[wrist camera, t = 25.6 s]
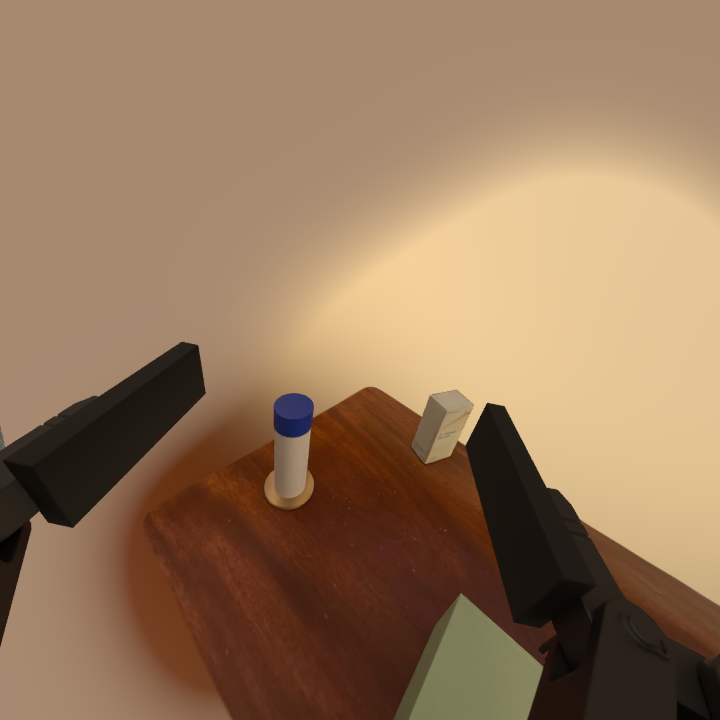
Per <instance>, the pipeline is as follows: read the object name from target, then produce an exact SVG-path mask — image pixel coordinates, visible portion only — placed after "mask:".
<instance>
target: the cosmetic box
mask: <svg viewBox="0 0 720 720" xmlns="http://www.w3.org/2000/svg"><path fill="white" fill-rule="evenodd" d="M473 406H474V405H473V404H472V403H471V402H470V401H469V400H468V399H467V398H466V397H465V396H463V395H462V394H461V393H460V392H459V391H457V390H453V391H447V392H442V393H437V394H432V395H430V397H429V400H428V402H427V405H426V408H425V410H424V413H423V416H422V418H421V421H420V424H419V427H418V429H417V432H416V435H415V438H414V440H413V443H412V446H411V447H412V448H413V450H414V451H415V452H416V454H417V455H418V456H419V458H420V459H421V460H422V461H423V463H424V464H427V463H431V462H434V461H437V460H440V459H443V458H446V457H449V456H450V455H451V453H452V451H453V449H454V447H455V445H456V443H457V441H458V438H459V436H460V434H461V432H462V430H463V428H464V425H465V423H466V421H467V419H468V417H469V415H470V413H471V411H472V409H473Z"/></svg>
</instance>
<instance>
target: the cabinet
mask: <svg viewBox="0 0 720 720" xmlns="http://www.w3.org/2000/svg"><path fill="white" fill-rule="evenodd" d="M542 671H543V666H542V665H541V664H540V663H538V662H537V661H536V660H535V659H534V658H533V657H532V656H531V655H530V654H528V653H527V652H526V651H525V650H524V649H523V648H522V647H521V646H519V645H518V644H517V643H516V642H515V641H514V640H513V639H512V638H511V637H509V636H508V635H507V634H506V633H505V632H504V631H503V630H502V629H500V628H499V627H498V626H497V625H496V624H495V623H494V622H493V621H492V620H490V619H489V618H488V617H487V616H486V615H485V614H484V613H483V612H481V611H480V610H479V609H478V608H477V607H476V606H475V605H474V604H473V603H471V602H470V601H469V600H468V599H467V598H466V597H465V596H464V595H462V594H460V595H459V596H458V597H457V599H456V600H455V601H454V602H453V604H452V605H451V606H450V607H449V609H448V610H447V611H446V612H445V614H444V615H443V616H442V617H441V619H440V620H439V621H438V622H437V623H436V625H435V627H434V629H433V631H432V633H431V636H430V638H429V640H428V642H427V645H426V647H425V649H424V651H423V654H422V656H421V658H420V660H419V662H418V665H417V667H416V669H415V671H414V674H413V676H412V678H411V680H410V683H409V685H408V687H407V689H406V692H405V694H404V696H403V698H402V701H401V703H400V705H399V707H398V710H397V712H396V714H395V716H394V718H393V720H527V719H528V716H529V712H530V709H531V706H532V703H533V699H534V696H535V693H536V690H537V687H538V683H539V680H540V677H541V674H542Z"/></svg>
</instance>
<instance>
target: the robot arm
mask: <svg viewBox="0 0 720 720" xmlns="http://www.w3.org/2000/svg"><path fill="white" fill-rule="evenodd" d="M205 393H206V392H205V386H204V379H203V373H202V366H201V360H200V354H199V347H198V345H195V344H190V343H185V342H181V343H179V344H178V345H176V346H175V347H173V348H172V349H170V350H169V351H167V352H166V353H164V354H163V355H161V356H160V357H158V358H156V359H155V360H154V361H152V362H150V363H149V364H147V365H146V366H144V367H143V368H141V369H140V370H138V371H137V372H135V373H134V374H132V375H131V376H130V377H128V378H126V379H125V380H123V381H122V382H120V383H119V384H118V385H116V386H114V387H113V388H111V389H110V390H108V391H107V392H105V393H104V394H102V395H101V396H99V397H98V396H92V397H90V398H87V399H85V400H83V401H80V402H77V403H75V404H73V405H72V406H70V407H68V408H67V409H65V410H64V411H62V412H61V413H59V414H58V416H57V417H53V418H51V419H50V420H48V421H46V422H45V423H44V425H42V426H41V425H40V426H38V427H37V428H35V429H34V430H32V431H31V432H29V433H27V434H26V435H24V436H23V437H21V438H19V439H18V440H16V441H15V442H13V443H12V444H10V445H8V446H7V447H5V446H4V440H3V436H2V432H1V428H0V645H1V642H2V638H3V634H4V631H5V627H6V623H7V619H8V616H9V611H10V608H11V604H12V600H13V596H14V593H15V589H16V585H17V582H18V578H19V574H20V570H21V566H22V563H23V559H24V555H25V551H26V548H27V544H28V540H29V536H30V532H31V522H30V521H29V520H30V519H31V518H32V517H33V516H34V515H35V514H37V513H38V512H39V511H40V512H41V514H42V515H43V516H44V518H45V519H46V520H47V522H48V523H53V524H57V525H62V526H67V527H71V528H73V527H74V526H75V525H76V524H77V523H78V522H79V521H80V520H81V519H82V518H83V517H84V516H85V515H86V514H87V513H88V512H89V511H90V510H91V509H92V508H93V507H94V506H95V505H96V504H97V503H98V502H99V501H100V500H101V499H102V498H103V497H104V496H105V495H106V494H107V493H108V492H109V491H110V490H111V489H112V488H113V487H114V486H115V485H116V484H117V483H118V482H119V481H120V479H122V478H123V476H125V475H126V474H127V473H128V471H130V470H131V469H132V467H133V466H134V465H135V464H136V463H137V462H138V461H139V460H140V459H141V458H142V457H143V456H144V455H145V454H146V453H147V452H148V451H149V450H150V449H151V448H152V447H153V446H154V445H155V444H156V443H157V442H158V441H159V440H160V439H161V438H162V437H163V436H164V435H165V434H166V433H167V432H168V431H169V430H170V429H171V428H172V427H173V426H174V425H175V424H176V423H177V422H178V421H179V420H180V419H181V418H182V417H183V416H184V415H185V414H186V413H187V412H188V411H189V410H190V409H191V408H192V407H193V406H194V405H195V404H196V403H197V402H198V401H199V400H200V399H201V398H202V397H203V396H204V395H205ZM465 447H466V450H467V454H468V458H469V461H470V465H471V468H472V472H473V476H474V479H475V483H476V487H477V490H478V494H479V497H480V501H481V505H482V508H483V512H484V516H485V519H486V523H487V526H488V530H489V534H490V537H491V541H492V545H493V548H494V552H495V556H496V559H497V563H498V566H499V570H500V574H501V577H502V581H503V585H504V588H505V592H506V595H507V599H508V603H509V606H510V610H511V614H512V617H513V621H514V623H519V624H524V625H528V626H533V627H538V628H541V627H543V626H544V625H545V624H547V623H548V622H549V621H551V620H552V623H553V625H554V628H555V631H556V634H557V635H555V636H554V637H552V638H551V639H549V640H548V641H546V642H545V643H543V644H542V645H541V647H540V648H539V651H540V652H541V653H542V654H543V653H545V652H546V651H548V650H549V651H548V654H547V658H546V661H545V664H544V667H543V671H542V674H541V677H540V680H539V683H538V687H537V690H536V693H535V696H534V699H533V703H532V706H531V709H530V712H529V716H528V719H527V720H720V654H717V655H715V656H712V657H710V658H705V657H703V656H701V655H700V654H698V653H696V652H694V651H692V650H690V649H688V648H687V647H685V646H683V645H681V644H679V643H677V642H675V641H674V640H672V639H670V638H668V637H666V635H665V634H664V633H663V631H662V630H661V629H660V628H659V626H658V625H657V624H656V623H655V621H654V620H653V619H652V618H651V617H649V616H648V615H647V614H646V613H645V612H644V611H643V610H642V609H641V608H639V607H637V606H636V605H634V604H633V603H631V602H630V601H628V600H626V599H625V597H624V596H623V594H622V593H621V591H620V589H619V587H618V586H617V584H616V582H615V580H614V579H613V577H612V575H611V573H610V572H609V570H608V568H607V566H606V565H605V563H604V561H603V559H602V558H601V556H600V554H599V552H598V551H597V549H596V547H595V545H594V544H593V542H592V540H591V539H590V538H589V537H588V533H587V531H586V530H585V528H584V526H583V525H582V524H581V523H580V522H581V521H580V519H579V517H578V516H577V514H576V512H575V510H574V508H573V507H572V505H571V504H570V503H569V502H568V501H567V500H566V499H565V497H564V496H563V495H562V494H561V493H560V492H559V491H558V490H556V489H551V488H546V486H545V484H544V482H543V480H542V478H541V476H540V474H539V472H538V470H537V468H536V466H535V464H534V462H533V460H532V459H531V457H530V455H529V453H528V451H527V449H526V447H525V445H524V443H523V441H522V439H521V438H520V436H519V434H518V432H517V430H516V428H515V426H514V424H513V422H512V420H511V418H510V416H509V415H508V412H507V410H506V408H505V406H501V405H495V404H490V403H487V404H486V406H485V408H484V410H483V412H482V414H481V416H480V418H479V420H478V422H477V424H476V426H475V428H474V430H473V432H472V434H471V436H470V438H469V440H468V442H467V444H466V446H465Z"/></svg>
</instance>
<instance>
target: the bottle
mask: <svg viewBox="0 0 720 720" xmlns="http://www.w3.org/2000/svg"><path fill="white" fill-rule="evenodd" d="M313 409H314V405H313V402H312V400H311V399H310V398H308V397H307V396H305V395H302V394H297V393H291V394H286V395H283V396H281V397H279V398H278V399H277V400H276V401H275V403H274V428H275V447H274V488H275V491H276V493H277V494H278V495H279V496H281V497H283V498H294V497H296V496H298V495H299V494H301V493H302V492H303V490H304V488H305V484H306V474H307V463H308V453H309V442H310V432H311V427H312V419H313Z"/></svg>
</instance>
